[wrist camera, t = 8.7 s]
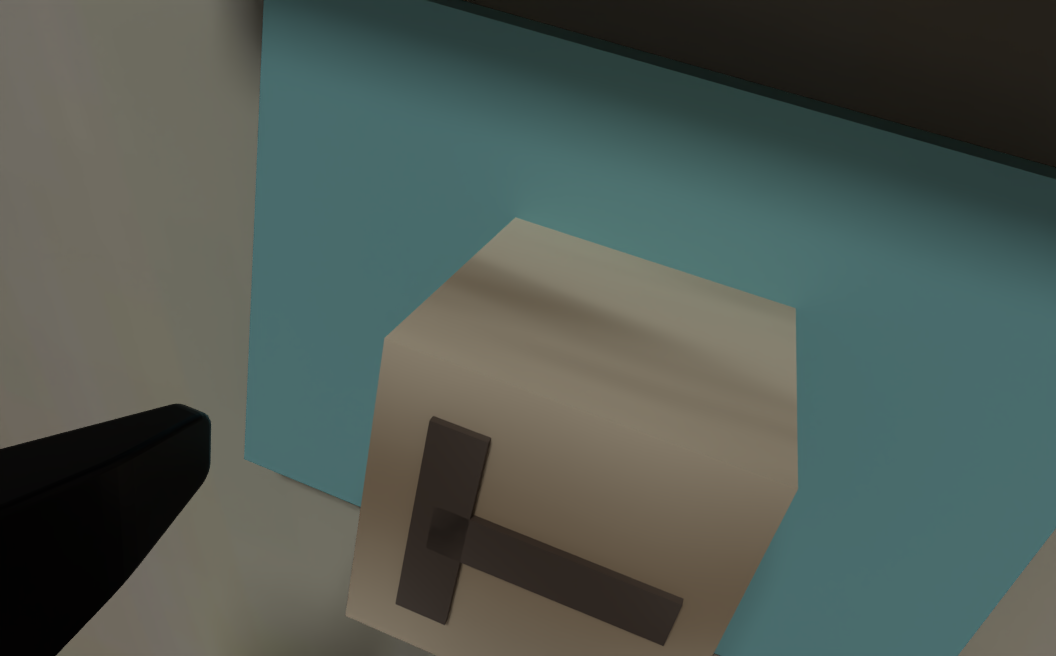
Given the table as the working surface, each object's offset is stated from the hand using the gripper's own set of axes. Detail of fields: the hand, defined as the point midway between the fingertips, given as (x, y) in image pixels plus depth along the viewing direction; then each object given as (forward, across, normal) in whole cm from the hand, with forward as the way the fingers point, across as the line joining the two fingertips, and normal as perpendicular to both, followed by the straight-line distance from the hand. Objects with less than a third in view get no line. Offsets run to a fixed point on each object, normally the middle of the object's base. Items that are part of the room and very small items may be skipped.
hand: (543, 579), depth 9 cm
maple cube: (+5, 0, 0) cm, 5 cm away
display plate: (+6, 0, 0) cm, 6 cm away
